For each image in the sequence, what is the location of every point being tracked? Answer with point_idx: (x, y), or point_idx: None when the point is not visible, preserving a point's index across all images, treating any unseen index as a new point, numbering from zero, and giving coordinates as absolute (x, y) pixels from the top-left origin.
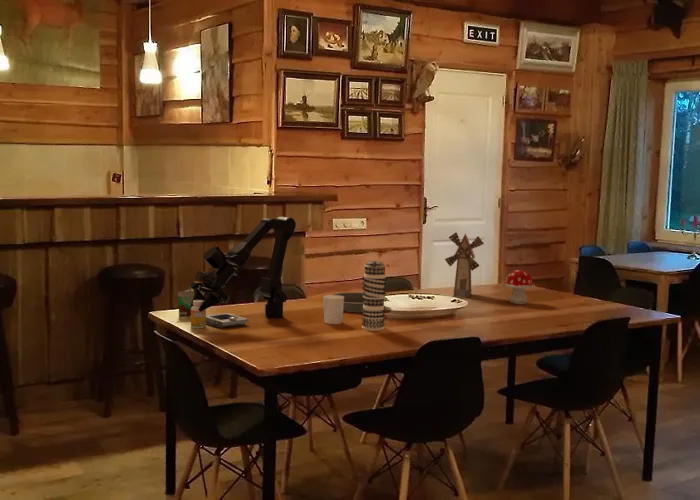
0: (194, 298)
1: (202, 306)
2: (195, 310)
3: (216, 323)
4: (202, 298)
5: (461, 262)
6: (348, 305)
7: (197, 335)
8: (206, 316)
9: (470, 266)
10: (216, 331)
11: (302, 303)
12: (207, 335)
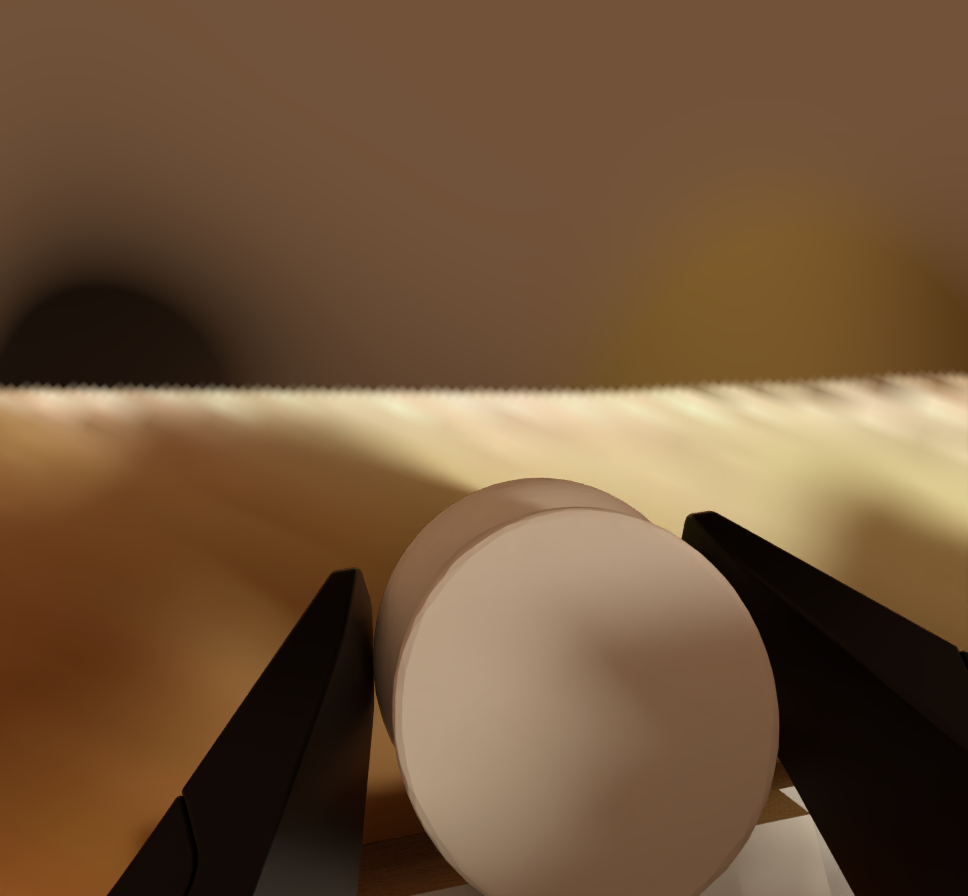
0: (930, 690)
1: (277, 673)
2: (429, 524)
3: (400, 865)
4: None
5: None
6: None
7: (89, 409)
8: (753, 866)
9: None
10: (152, 710)
11: None
12: (19, 511)
